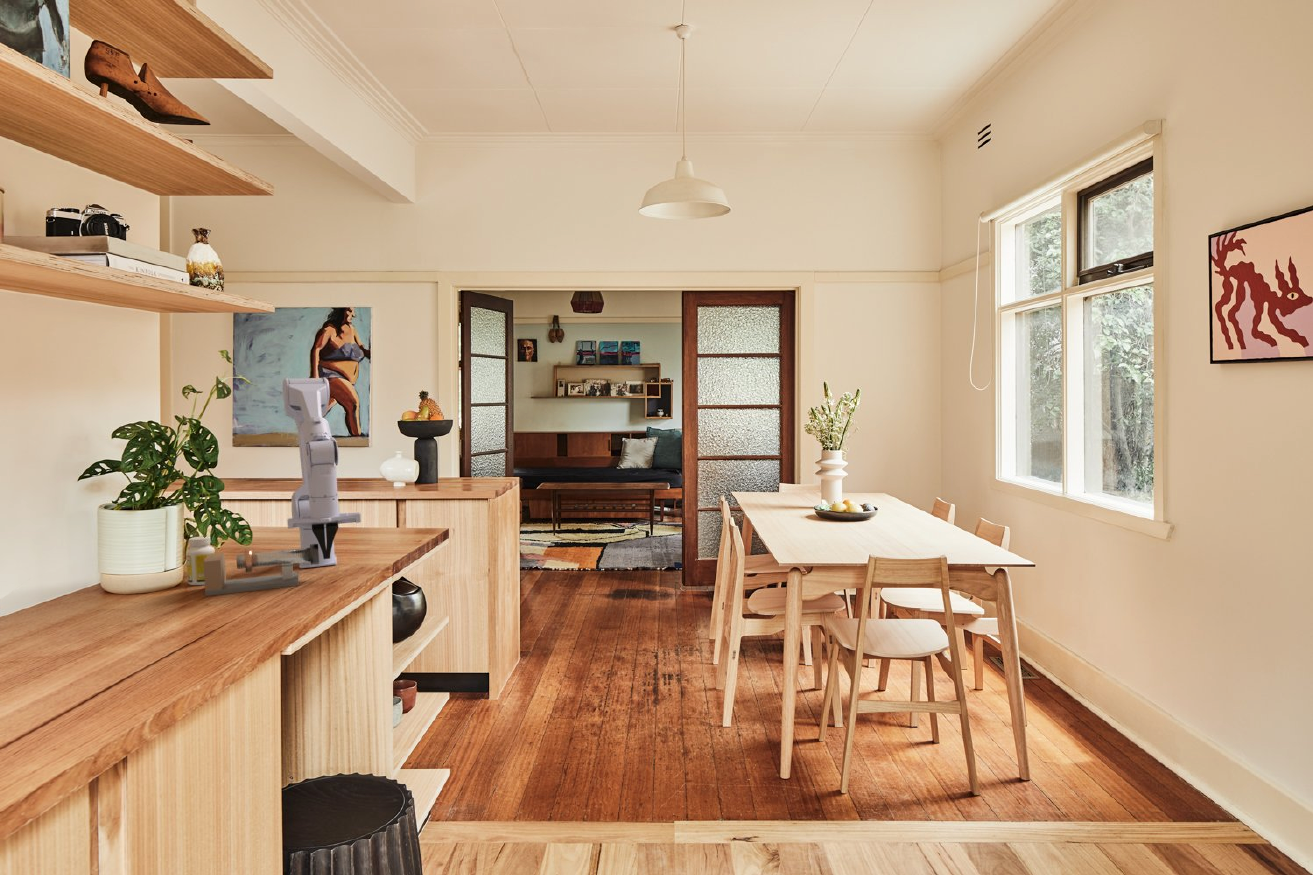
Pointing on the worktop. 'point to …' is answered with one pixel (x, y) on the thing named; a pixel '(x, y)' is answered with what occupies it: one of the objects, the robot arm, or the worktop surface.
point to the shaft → (277, 558)
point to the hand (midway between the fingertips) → (326, 558)
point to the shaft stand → (220, 585)
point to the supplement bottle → (197, 559)
